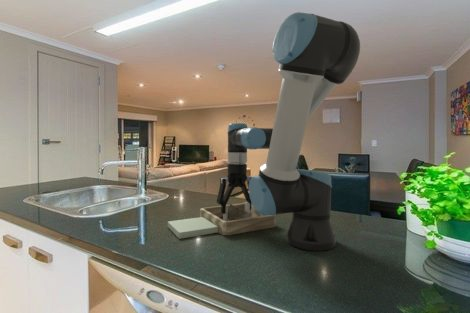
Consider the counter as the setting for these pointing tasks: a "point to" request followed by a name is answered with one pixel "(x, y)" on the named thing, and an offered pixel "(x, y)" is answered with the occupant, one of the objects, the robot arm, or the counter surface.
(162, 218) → the counter surface
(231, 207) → the rock
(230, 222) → the wooden tray
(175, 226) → the ledge
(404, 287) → the counter surface
